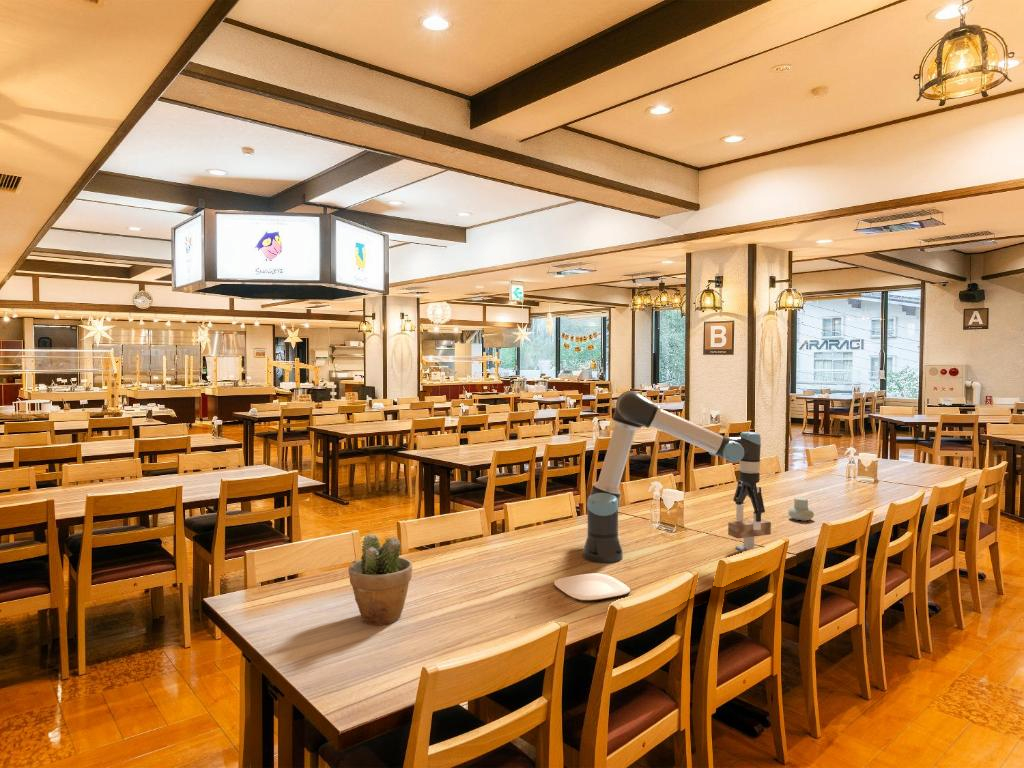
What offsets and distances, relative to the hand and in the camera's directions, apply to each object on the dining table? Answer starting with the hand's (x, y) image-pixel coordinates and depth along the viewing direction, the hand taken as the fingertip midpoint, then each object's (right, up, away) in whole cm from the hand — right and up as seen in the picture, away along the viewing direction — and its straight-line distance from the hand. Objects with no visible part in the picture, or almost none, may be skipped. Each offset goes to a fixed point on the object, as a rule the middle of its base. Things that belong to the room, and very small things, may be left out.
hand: (747, 525), depth 248 cm
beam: (+1, -4, 0) cm, 4 cm away
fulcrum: (0, -10, 0) cm, 10 cm away
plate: (-67, -13, -41) cm, 79 cm away
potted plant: (-132, -13, -63) cm, 146 cm away
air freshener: (+43, -9, +49) cm, 66 cm away
